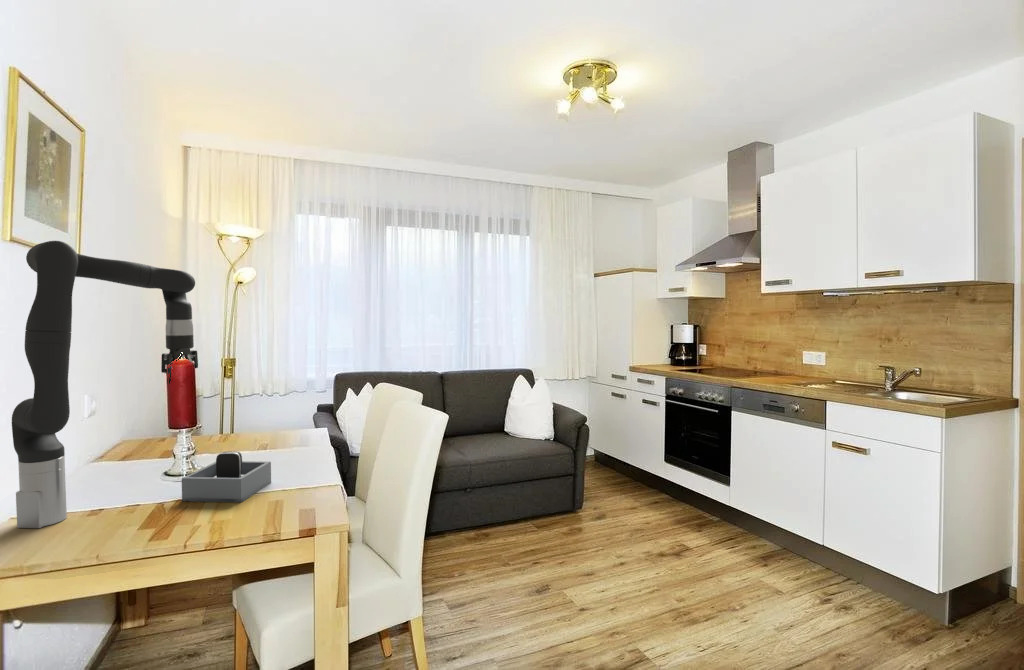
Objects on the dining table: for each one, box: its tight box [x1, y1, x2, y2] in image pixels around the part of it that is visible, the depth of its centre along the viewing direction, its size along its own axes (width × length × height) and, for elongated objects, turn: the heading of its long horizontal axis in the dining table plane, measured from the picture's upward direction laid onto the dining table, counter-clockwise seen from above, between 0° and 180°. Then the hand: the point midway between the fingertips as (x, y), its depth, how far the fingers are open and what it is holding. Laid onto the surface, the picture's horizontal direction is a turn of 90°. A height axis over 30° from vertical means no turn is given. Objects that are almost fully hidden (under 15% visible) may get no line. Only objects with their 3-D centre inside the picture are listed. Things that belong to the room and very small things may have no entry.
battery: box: [215, 451, 243, 478], centre depth 165 cm, size 7×4×11 cm, turn 98°
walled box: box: [181, 460, 272, 503], centre depth 164 cm, size 18×18×7 cm
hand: (180, 384), depth 168 cm, fingers open, 8 cm apart
